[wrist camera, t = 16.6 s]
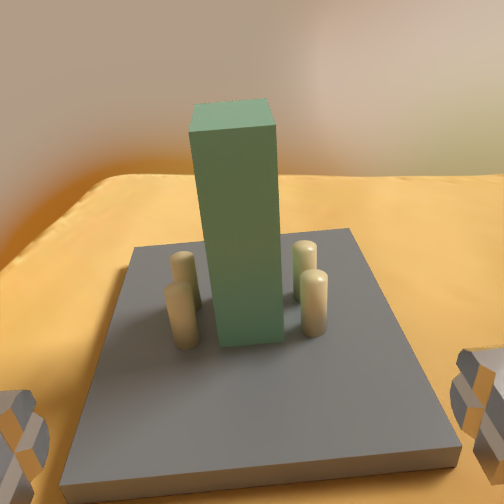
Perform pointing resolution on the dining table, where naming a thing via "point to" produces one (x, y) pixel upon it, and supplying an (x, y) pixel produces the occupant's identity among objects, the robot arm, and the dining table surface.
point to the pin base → (253, 383)
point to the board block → (240, 217)
